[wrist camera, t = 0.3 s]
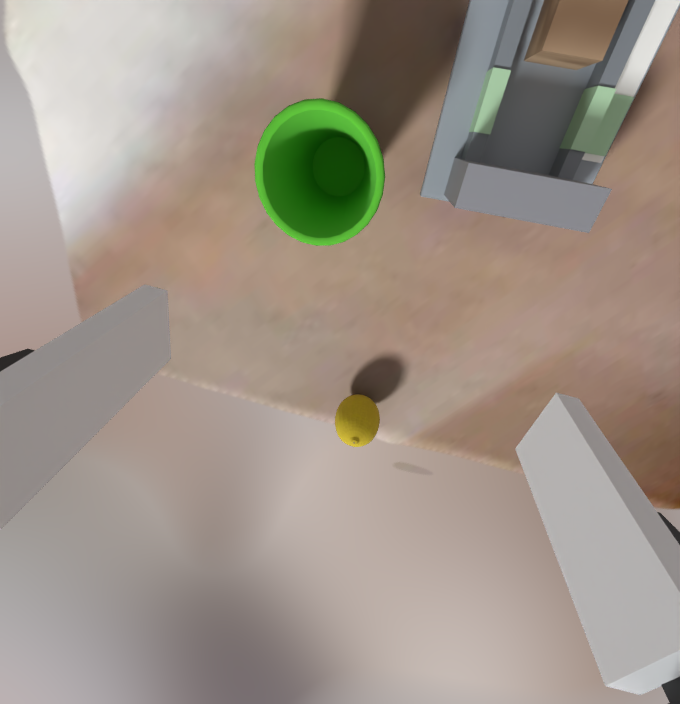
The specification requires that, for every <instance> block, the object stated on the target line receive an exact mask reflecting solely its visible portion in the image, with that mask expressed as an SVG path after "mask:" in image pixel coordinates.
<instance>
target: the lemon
mask: <svg viewBox="0 0 680 704" xmlns="http://www.w3.org/2000/svg"><path fill="white" fill-rule="evenodd" d="M379 422H380V417H379V411H378V408H377V406H376V404H375V403H374V402H373V401H372V400H371V399H370V398H368V397H366V396H364V395H352V396H349V397H347V398H346V399H344V400H343V401H342V402H341V404H340V405H339V407H338V409H337V412H336V416H335V426H336V431H337V434H338V436H339V437H340V439H341V440H342V441H343V442H344V443H346V444H347V445H350V446H354V447H360V446H364V445H366V444H368V443H369V442H370V441H372V440H373V438H374V437H375V435H376V433H377V431H378V427H379Z"/></svg>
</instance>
